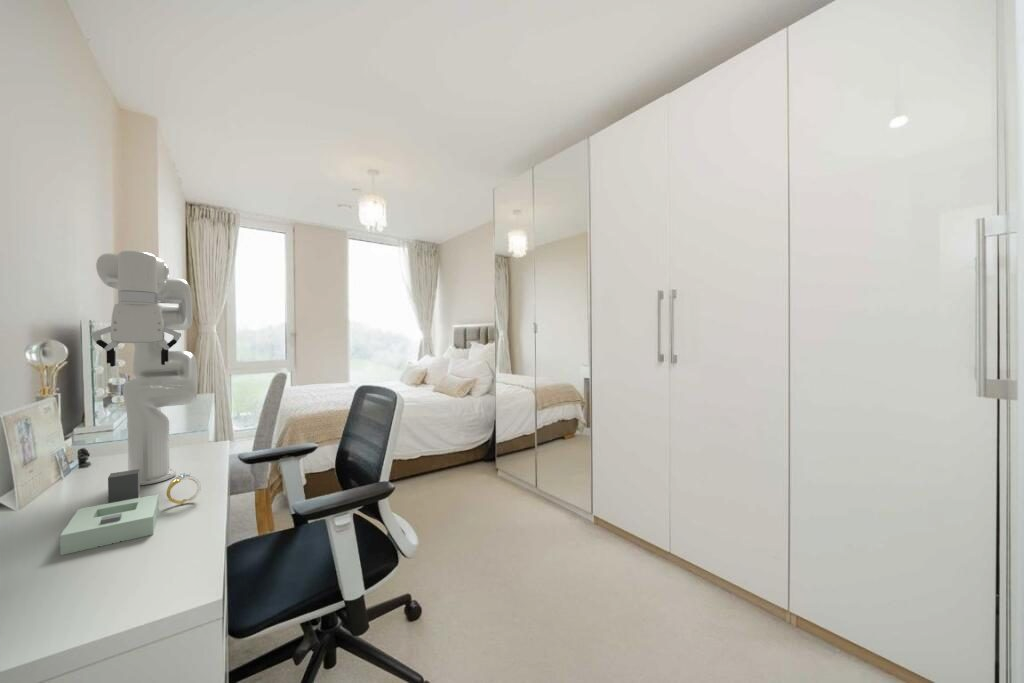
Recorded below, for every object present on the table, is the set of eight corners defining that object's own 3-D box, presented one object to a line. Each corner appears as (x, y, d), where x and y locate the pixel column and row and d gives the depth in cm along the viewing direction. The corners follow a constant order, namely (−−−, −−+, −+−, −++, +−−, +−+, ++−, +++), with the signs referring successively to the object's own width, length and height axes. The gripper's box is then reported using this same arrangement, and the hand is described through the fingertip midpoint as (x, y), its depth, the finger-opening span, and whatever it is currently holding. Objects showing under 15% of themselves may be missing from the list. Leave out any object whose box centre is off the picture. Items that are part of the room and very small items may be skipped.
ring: (166, 509, 103) (165, 478, 103) (167, 504, 106) (167, 474, 106) (200, 502, 107) (200, 472, 107) (201, 498, 110) (200, 469, 110)
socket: (79, 525, 94) (78, 505, 94) (158, 509, 103) (158, 491, 102) (60, 555, 81) (60, 531, 81) (153, 534, 90) (152, 512, 90)
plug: (111, 508, 104) (110, 473, 104) (140, 502, 107) (139, 469, 107) (108, 513, 100) (108, 477, 100) (138, 507, 104) (138, 473, 104)
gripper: (181, 302, 113) (181, 363, 113) (92, 298, 102) (93, 366, 103) (181, 300, 108) (181, 364, 108) (87, 296, 97) (88, 367, 97)
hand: (138, 365), depth 105 cm, fingers open, 9 cm apart
